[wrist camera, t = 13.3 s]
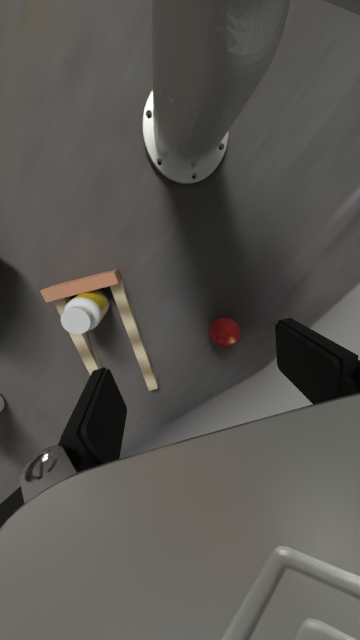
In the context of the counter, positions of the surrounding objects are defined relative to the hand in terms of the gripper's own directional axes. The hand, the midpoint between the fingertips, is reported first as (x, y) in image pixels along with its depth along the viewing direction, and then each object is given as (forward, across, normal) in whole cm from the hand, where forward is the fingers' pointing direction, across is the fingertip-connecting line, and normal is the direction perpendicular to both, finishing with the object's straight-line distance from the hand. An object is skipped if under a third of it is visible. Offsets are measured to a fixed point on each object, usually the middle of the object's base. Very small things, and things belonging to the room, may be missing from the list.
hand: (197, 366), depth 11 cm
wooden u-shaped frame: (+28, +14, +9) cm, 33 cm away
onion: (+28, -8, +12) cm, 32 cm away
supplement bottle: (+28, +14, +1) cm, 32 cm away
